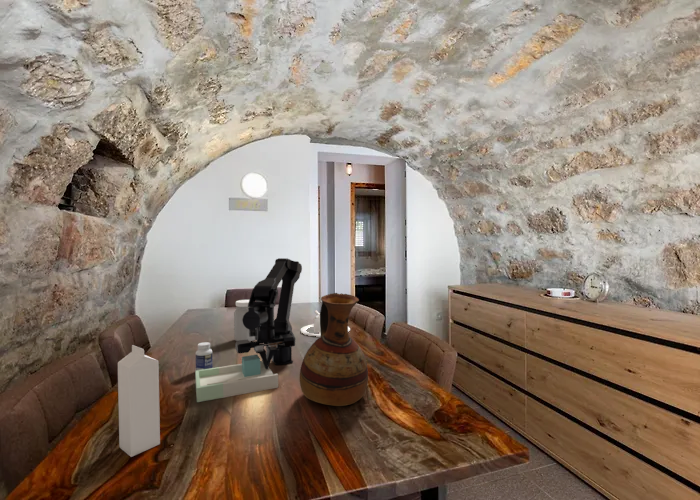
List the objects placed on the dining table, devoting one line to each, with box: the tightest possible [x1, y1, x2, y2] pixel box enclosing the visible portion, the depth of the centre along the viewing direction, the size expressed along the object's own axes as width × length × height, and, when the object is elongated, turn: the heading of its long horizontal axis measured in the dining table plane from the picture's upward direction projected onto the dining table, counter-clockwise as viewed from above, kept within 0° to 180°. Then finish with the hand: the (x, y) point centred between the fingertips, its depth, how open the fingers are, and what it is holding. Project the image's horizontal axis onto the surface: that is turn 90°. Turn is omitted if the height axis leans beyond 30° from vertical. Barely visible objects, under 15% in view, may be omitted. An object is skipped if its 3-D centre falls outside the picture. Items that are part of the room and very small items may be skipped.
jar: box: [233, 299, 256, 342], centre depth 161 cm, size 10×10×18 cm
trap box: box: [194, 360, 279, 403], centre depth 110 cm, size 23×15×4 cm, turn 115°
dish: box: [300, 309, 351, 338], centre depth 177 cm, size 25×25×11 cm
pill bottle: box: [195, 341, 214, 371], centre depth 122 cm, size 5×5×10 cm
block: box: [241, 353, 261, 377], centre depth 115 cm, size 5×5×5 cm
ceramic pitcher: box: [299, 292, 369, 407], centre depth 101 cm, size 20×20×30 cm
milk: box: [117, 344, 161, 458], centre depth 77 cm, size 6×6×22 cm
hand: (266, 368), depth 117 cm, fingers closed
